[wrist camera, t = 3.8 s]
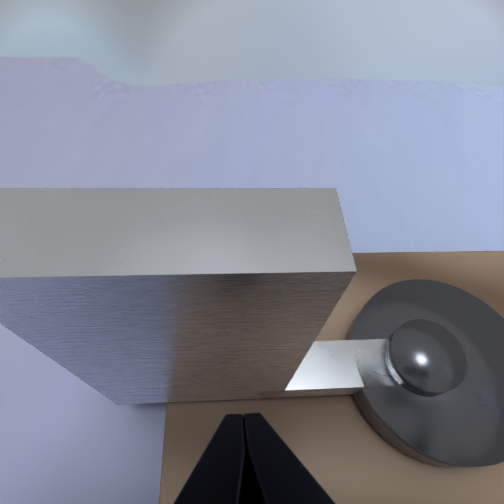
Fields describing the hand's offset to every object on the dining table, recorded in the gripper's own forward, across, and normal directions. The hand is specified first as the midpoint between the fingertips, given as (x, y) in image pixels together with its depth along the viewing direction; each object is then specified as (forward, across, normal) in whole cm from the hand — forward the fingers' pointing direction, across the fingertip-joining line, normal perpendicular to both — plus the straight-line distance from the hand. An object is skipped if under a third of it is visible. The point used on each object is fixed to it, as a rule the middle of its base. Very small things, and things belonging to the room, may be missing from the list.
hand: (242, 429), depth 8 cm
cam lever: (+7, -4, +3) cm, 9 cm away
